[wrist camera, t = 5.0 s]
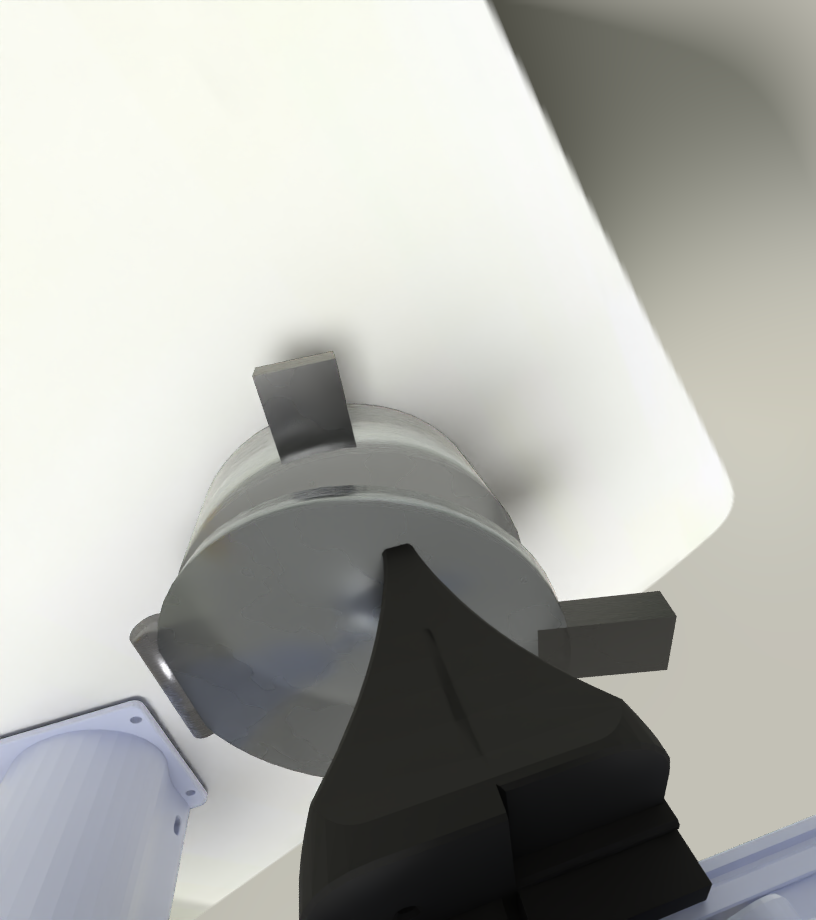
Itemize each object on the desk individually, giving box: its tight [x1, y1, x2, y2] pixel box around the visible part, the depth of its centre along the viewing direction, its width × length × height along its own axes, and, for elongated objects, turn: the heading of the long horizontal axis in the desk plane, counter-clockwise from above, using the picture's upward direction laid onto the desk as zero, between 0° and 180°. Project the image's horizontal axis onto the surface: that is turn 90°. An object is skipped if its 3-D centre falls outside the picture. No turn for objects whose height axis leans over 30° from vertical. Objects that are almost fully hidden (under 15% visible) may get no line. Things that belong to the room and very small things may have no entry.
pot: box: [178, 351, 521, 575], centre depth 19 cm, size 19×13×5 cm
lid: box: [130, 485, 676, 777], centre depth 15 cm, size 13×17×1 cm
